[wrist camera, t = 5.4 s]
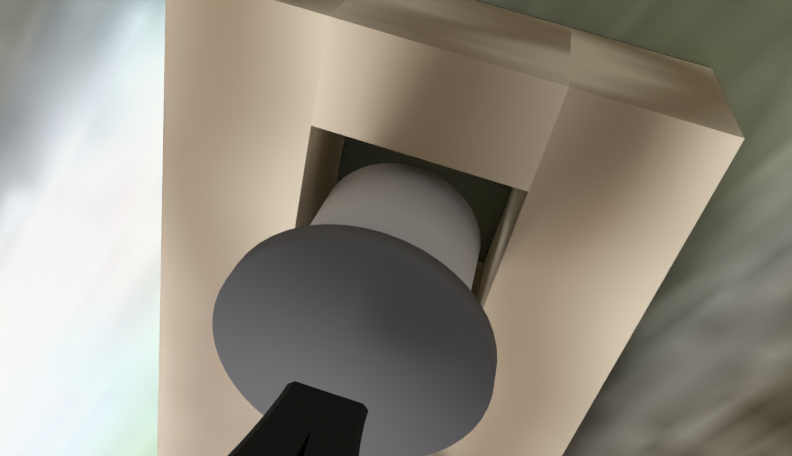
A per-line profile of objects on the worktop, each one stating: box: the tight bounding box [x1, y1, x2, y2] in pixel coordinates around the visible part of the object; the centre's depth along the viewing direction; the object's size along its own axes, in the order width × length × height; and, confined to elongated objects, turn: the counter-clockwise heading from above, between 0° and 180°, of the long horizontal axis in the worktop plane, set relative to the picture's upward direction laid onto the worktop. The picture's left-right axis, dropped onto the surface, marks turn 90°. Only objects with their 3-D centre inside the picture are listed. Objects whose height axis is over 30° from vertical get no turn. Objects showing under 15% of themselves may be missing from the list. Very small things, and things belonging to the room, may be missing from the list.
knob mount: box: [158, 0, 745, 456], centre depth 21 cm, size 12×19×4 cm, turn 168°
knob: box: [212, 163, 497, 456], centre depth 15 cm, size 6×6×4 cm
